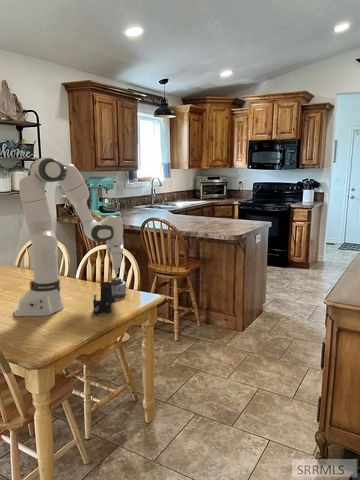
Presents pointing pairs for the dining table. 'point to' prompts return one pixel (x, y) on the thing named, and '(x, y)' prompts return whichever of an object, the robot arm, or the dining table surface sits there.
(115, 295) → the grey short cylinder
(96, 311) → the scope
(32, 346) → the dining table surface
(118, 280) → the cap
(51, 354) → the dining table surface
